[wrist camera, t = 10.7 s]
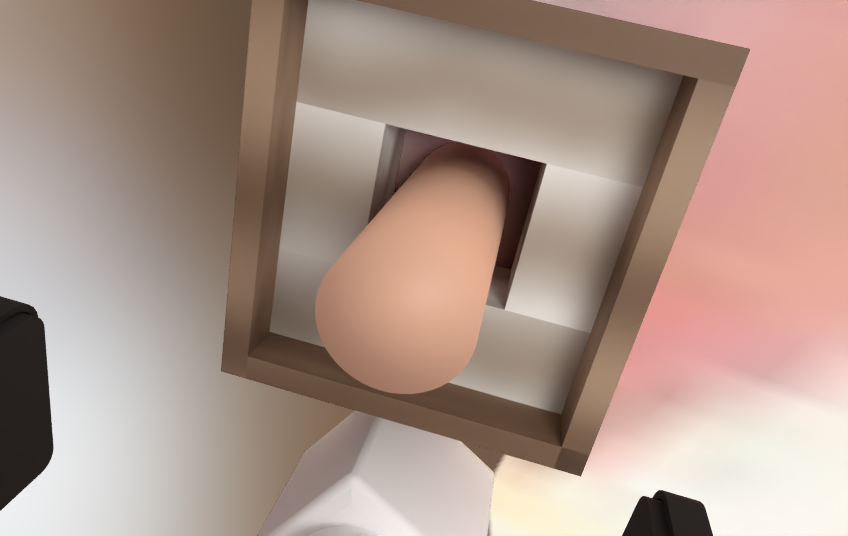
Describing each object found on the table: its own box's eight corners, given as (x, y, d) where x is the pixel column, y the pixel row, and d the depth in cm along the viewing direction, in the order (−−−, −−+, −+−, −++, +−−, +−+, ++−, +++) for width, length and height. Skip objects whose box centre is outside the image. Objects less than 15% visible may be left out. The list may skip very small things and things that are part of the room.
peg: (424, 131, 25) (327, 223, 14) (522, 155, 25) (497, 269, 14) (406, 223, 27) (305, 368, 16) (497, 247, 27) (457, 412, 16)
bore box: (325, -45, 24) (256, -61, 18) (702, 39, 22) (750, 49, 17) (282, 304, 30) (220, 371, 24) (575, 386, 28) (580, 476, 23)
